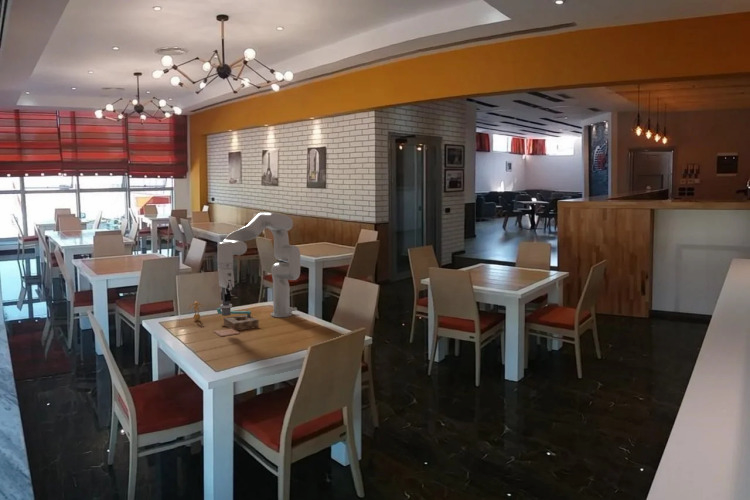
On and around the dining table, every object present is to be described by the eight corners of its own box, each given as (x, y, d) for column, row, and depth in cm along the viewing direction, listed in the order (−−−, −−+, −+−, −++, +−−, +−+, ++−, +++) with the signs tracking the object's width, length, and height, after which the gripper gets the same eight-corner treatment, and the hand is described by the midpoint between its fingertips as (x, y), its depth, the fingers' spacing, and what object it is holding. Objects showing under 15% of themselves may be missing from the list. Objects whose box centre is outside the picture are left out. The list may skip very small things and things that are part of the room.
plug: (229, 312, 303) (229, 286, 301) (233, 315, 298) (233, 287, 296) (218, 314, 299) (218, 287, 297) (222, 316, 294) (222, 288, 293)
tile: (232, 329, 307) (231, 328, 307) (239, 333, 299) (239, 332, 299) (213, 332, 301) (213, 331, 301) (221, 336, 293) (221, 335, 293)
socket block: (247, 321, 324) (247, 312, 323) (258, 327, 313) (258, 317, 312) (223, 325, 316) (223, 315, 315) (234, 330, 304) (234, 320, 304)
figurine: (205, 319, 327) (204, 298, 326) (204, 322, 322) (203, 301, 320) (189, 320, 326) (189, 299, 324) (188, 322, 320) (188, 301, 318)
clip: (251, 313, 321) (251, 308, 320) (250, 314, 318) (250, 309, 318) (217, 312, 320) (217, 308, 320) (216, 313, 317) (216, 309, 317)
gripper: (239, 267, 291) (239, 302, 293) (226, 263, 304) (226, 297, 306) (224, 268, 287) (225, 304, 289) (212, 264, 300) (213, 298, 302)
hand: (226, 300), depth 298 cm, fingers closed on plug, 3 cm apart
